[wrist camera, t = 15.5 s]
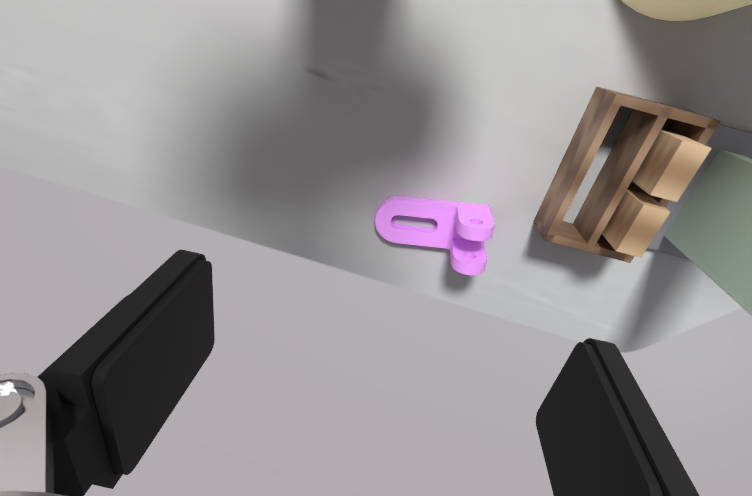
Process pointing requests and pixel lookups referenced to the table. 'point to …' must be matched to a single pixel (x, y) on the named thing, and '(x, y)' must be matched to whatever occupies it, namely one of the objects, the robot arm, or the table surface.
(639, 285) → the table surface
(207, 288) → the robot arm
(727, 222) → the green board
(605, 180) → the walnut rack
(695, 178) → the charcoal mat
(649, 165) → the oak offcut
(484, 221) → the bracket
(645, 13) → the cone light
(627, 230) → the oak offcut
